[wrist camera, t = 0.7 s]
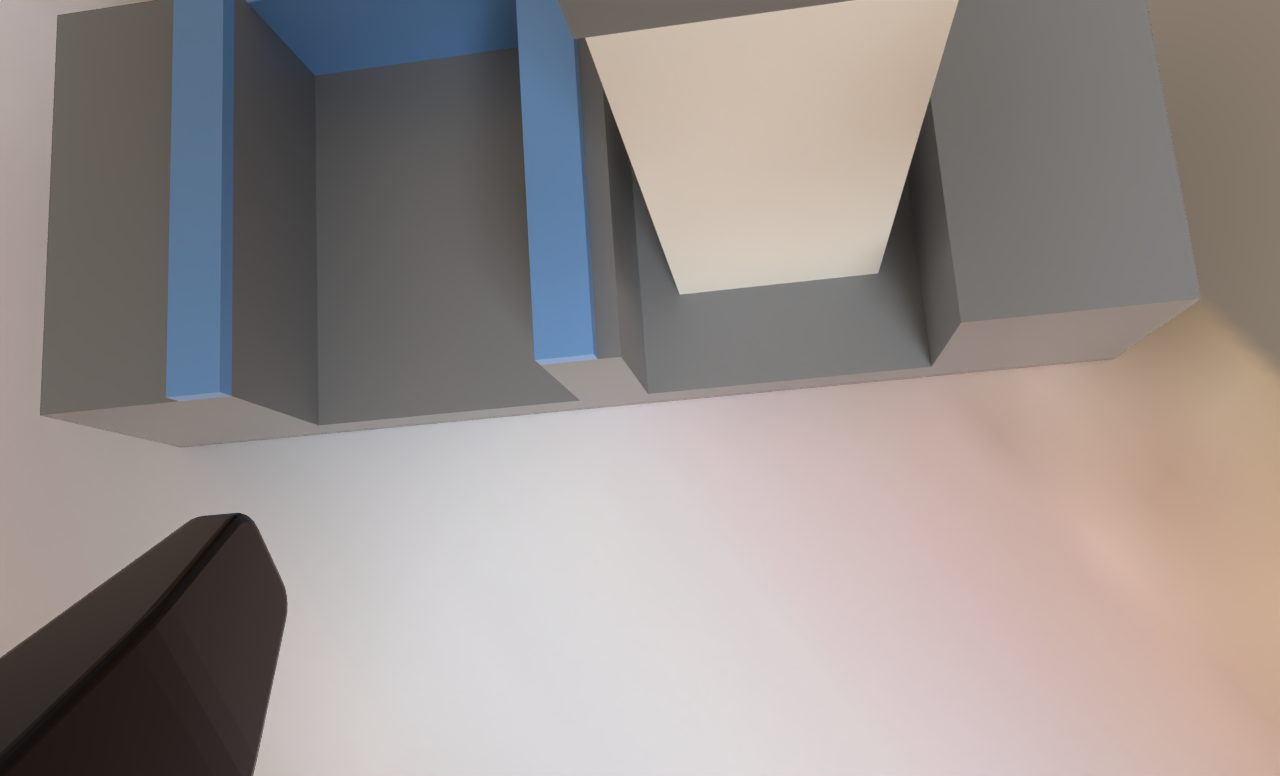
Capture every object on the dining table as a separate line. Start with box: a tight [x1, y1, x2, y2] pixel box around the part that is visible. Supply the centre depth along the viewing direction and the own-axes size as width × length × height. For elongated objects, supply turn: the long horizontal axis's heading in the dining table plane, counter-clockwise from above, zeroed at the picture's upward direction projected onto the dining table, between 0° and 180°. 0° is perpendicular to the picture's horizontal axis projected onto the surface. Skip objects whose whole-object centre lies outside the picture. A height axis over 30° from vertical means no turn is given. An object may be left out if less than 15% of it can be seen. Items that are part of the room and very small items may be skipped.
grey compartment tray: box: [40, 0, 1201, 447], centre depth 20 cm, size 20×9×5 cm, turn 94°
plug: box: [558, 0, 959, 295], centre depth 16 cm, size 4×4×12 cm
